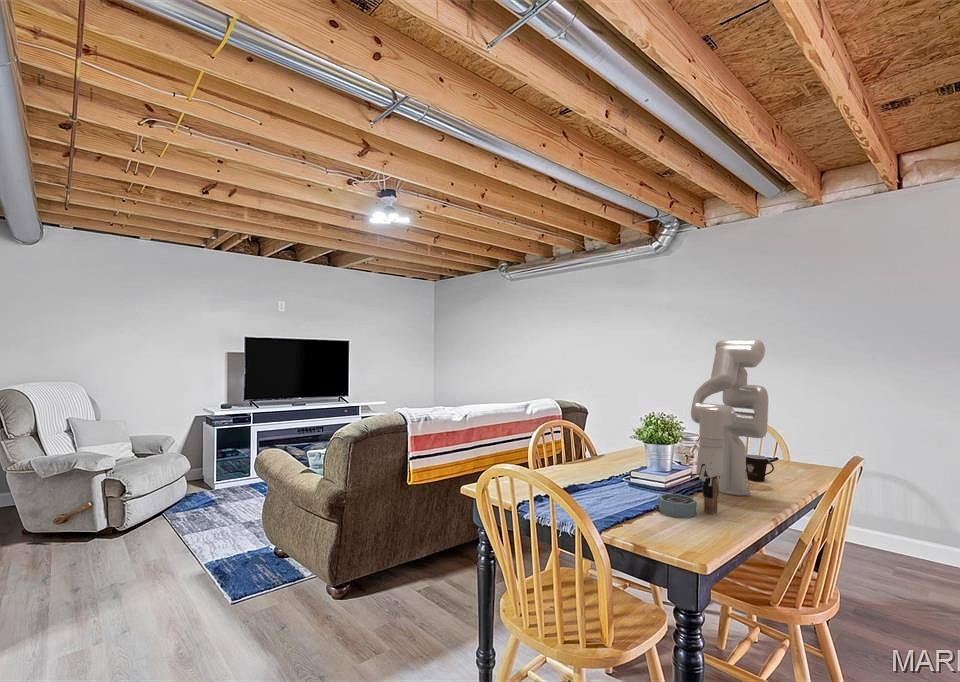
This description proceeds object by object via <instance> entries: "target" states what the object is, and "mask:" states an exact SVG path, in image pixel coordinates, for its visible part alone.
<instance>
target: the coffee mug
mask: <svg viewBox="0 0 960 682" xmlns="http://www.w3.org/2000/svg"><path fill="white" fill-rule="evenodd" d="M768 460H769V458H768V457H767V456H764V455H760V454H746V477H747V478H746V479H748V481H750V482H751V481H752V482H757V483H764V482H765V479H766V476H767V475H770V474H772V472H774V470H775V466H774V465H773V463H771V462H768ZM767 465H770V466H771V470H770V471H769V472H767Z"/></svg>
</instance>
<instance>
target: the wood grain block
mask: <svg viewBox="0 0 960 682" xmlns="http://www.w3.org/2000/svg"><path fill="white" fill-rule="evenodd" d="M706 479H707V478H706ZM708 481H709V479H708ZM712 487H713V498H707V497H704V496H703V497H704V500H703V512H704V513H706V514H709V515H715V514H717V513H718V496H717V492H718V478H716V477H712Z"/></svg>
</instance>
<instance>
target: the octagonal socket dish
mask: <svg viewBox="0 0 960 682" xmlns="http://www.w3.org/2000/svg"><path fill="white" fill-rule="evenodd" d="M658 510H659V511H660V513H661V514H663V515H666V516H670V517H672V518H680V519H681V518H685V519H690V518H693V517H695V516H697V501H696V499H694V497H692V496H687V495H684V494H680V493H664V494H660V495H658Z"/></svg>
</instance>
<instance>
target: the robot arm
mask: <svg viewBox="0 0 960 682" xmlns="http://www.w3.org/2000/svg"><path fill="white" fill-rule="evenodd" d="M765 347H766V346H765V344H764V342H763V341H762V340H759V339H723V340H719V341H717V343H716V344H715V354H714V359H713V364H712V369H711V375H710V378H709V379H708V380H706V381H705V382H703V383H702V384H701V385H700V387H698V389H697V390H696V391H695V392H694V395H693V398H692V399H693V400H692V404H691V410H690V416H691V417H690V418H691V420H692V421H693V422H694V423H695V424H698V425H699V430H698V431H699V437H698V439H699V440H698V441H699V447H698V452H697V459H696V461H697V462H696V474H697V476H699V477H698V478H699V480H700V481H701V482H702V496H703V497H707V498H713V487H712V477H716V478H718V492H717V497H719V493H721V494H725V495H726V494H727V495H731V496H749V495H750V493H751V490H750V489H749V488H747V487H746V486H747V485H746V484H749V481H750V480H748V479H747V478H746V477H747V470H746V455H747V448H746V445H745V443H744V442H743V440H742V439H741V438H740V437H743V438H744V437H745V438H752V439H753V438H754V439H762V438H765V437H766V435H767V432H768V419H769V418H768V417H769V394H768V391H767V389H766V387H764V386H761V385H756V384H748V371H747V370H746V368H747V369H748V368H749V369H750V368H756V367H758V365H760V363H761V362H762V361H763V360H764V357H765V354H766V348H765ZM720 392H722V403H723V404H718V403H717V404H716V403H708V402H706V403H705V402H704V401H705V400H706V399H707V398H708V397H711V396H712V395H715V394H717V393H720ZM735 409H743V410H744V409H745V410H752V411H753V412H749V411H747V412H746V411H745V412H744V411H739V410H738V411H736V410H735ZM706 478H707V479H706ZM708 479H709V481H708Z"/></svg>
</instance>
